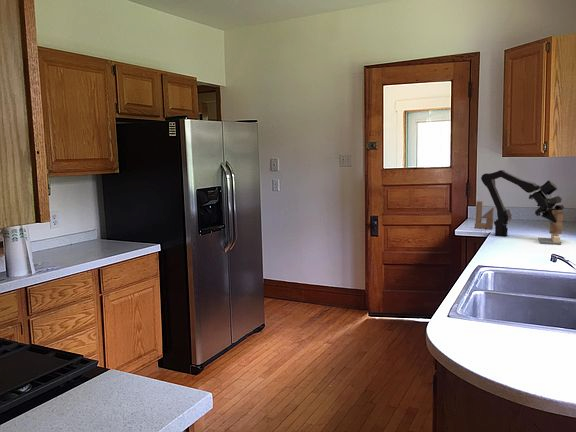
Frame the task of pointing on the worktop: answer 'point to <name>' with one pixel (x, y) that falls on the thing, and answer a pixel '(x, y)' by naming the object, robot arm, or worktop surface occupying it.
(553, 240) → the stand
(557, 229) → the post
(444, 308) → the worktop surface
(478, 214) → the wooden angular frame
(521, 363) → the worktop surface
